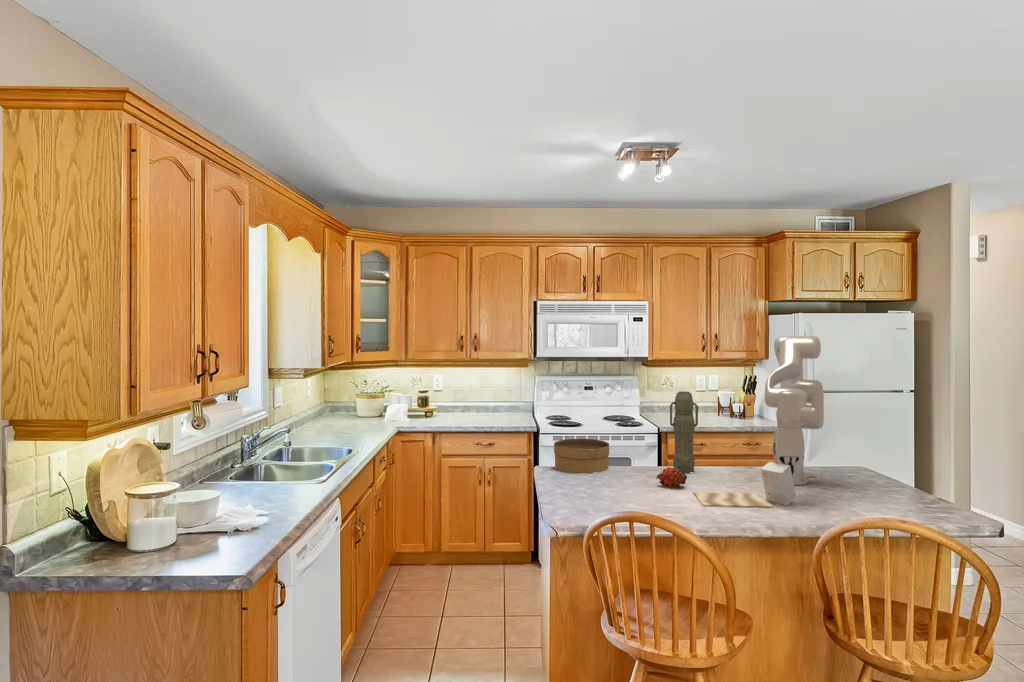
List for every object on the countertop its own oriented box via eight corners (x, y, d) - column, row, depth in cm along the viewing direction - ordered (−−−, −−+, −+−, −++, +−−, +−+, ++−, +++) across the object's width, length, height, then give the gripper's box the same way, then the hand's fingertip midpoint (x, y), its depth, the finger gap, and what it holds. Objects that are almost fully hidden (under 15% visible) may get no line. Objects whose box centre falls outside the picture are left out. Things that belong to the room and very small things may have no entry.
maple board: (758, 495, 226) (758, 493, 226) (773, 507, 210) (773, 506, 210) (693, 494, 228) (693, 492, 228) (703, 506, 213) (703, 504, 213)
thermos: (699, 473, 260) (699, 393, 259) (671, 473, 261) (671, 393, 261) (695, 469, 269) (696, 391, 268) (668, 468, 270) (669, 390, 269)
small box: (796, 497, 216) (790, 465, 213) (787, 506, 213) (782, 473, 210) (774, 492, 223) (769, 461, 220) (766, 500, 219) (760, 468, 216)
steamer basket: (605, 475, 258) (604, 449, 258) (548, 472, 265) (548, 447, 265) (613, 463, 281) (612, 439, 281) (560, 461, 289) (560, 437, 289)
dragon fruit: (689, 492, 237) (658, 494, 240) (687, 475, 243) (656, 478, 246) (687, 478, 232) (655, 480, 235) (684, 461, 239) (654, 464, 242)
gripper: (805, 423, 220) (805, 473, 220) (764, 423, 221) (763, 472, 222) (814, 426, 213) (814, 478, 213) (771, 426, 214) (770, 477, 214)
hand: (788, 475), depth 217 cm, fingers closed
